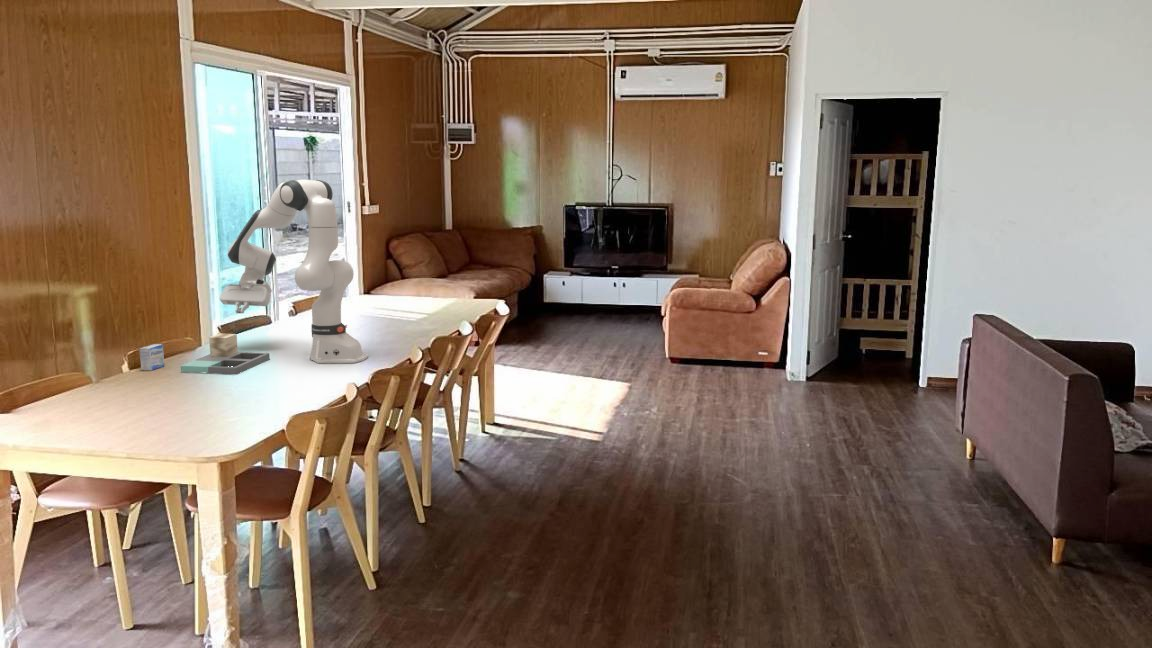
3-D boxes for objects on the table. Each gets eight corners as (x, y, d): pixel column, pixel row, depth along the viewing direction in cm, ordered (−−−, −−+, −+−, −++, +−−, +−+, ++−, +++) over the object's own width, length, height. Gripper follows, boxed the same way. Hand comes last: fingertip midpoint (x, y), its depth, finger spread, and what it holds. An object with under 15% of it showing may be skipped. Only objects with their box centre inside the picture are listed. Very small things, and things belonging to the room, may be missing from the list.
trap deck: (269, 359, 353) (269, 353, 353) (235, 374, 328) (235, 368, 328) (218, 357, 356) (218, 351, 356) (181, 372, 331) (180, 365, 331)
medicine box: (151, 371, 333) (149, 348, 331) (140, 370, 334) (139, 347, 332) (165, 366, 340) (163, 344, 339) (154, 365, 341) (152, 343, 340)
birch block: (237, 352, 354) (236, 334, 352) (227, 356, 346) (225, 337, 345) (221, 351, 355) (220, 333, 353) (210, 356, 347) (209, 337, 346)
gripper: (223, 279, 367) (212, 306, 360) (269, 281, 364) (259, 309, 357) (229, 288, 373) (218, 315, 365) (275, 290, 370) (265, 318, 362)
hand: (239, 312), depth 361 cm, fingers closed
